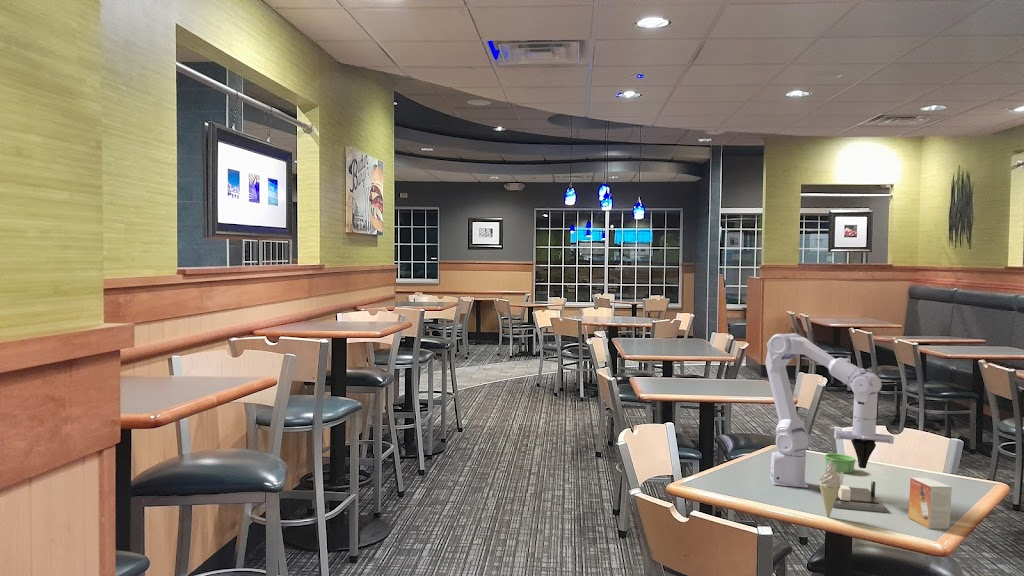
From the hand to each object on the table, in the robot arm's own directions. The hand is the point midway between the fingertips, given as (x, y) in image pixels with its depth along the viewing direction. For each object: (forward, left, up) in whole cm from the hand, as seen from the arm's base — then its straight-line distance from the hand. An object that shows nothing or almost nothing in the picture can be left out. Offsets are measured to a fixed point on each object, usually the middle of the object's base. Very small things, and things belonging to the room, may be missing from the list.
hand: (862, 467), depth 195 cm
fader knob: (-5, -5, -8) cm, 10 cm away
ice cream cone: (-12, -18, -10) cm, 23 cm away
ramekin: (+2, +34, -10) cm, 36 cm away
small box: (+12, -15, -10) cm, 21 cm away
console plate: (-2, 0, -9) cm, 10 cm away
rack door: (-5, +6, -8) cm, 11 cm away
